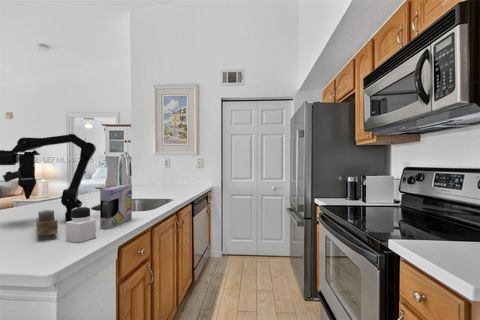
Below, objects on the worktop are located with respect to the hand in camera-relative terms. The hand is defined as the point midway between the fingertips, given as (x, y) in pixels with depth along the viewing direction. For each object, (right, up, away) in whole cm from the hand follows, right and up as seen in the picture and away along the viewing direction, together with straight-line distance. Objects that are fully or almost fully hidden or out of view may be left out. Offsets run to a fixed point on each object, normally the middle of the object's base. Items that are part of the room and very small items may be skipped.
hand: (27, 198), depth 126 cm
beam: (+19, -12, -14) cm, 27 cm away
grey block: (+20, -8, -15) cm, 26 cm away
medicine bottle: (+38, -12, -22) cm, 46 cm away
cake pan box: (+41, -12, +1) cm, 42 cm away
